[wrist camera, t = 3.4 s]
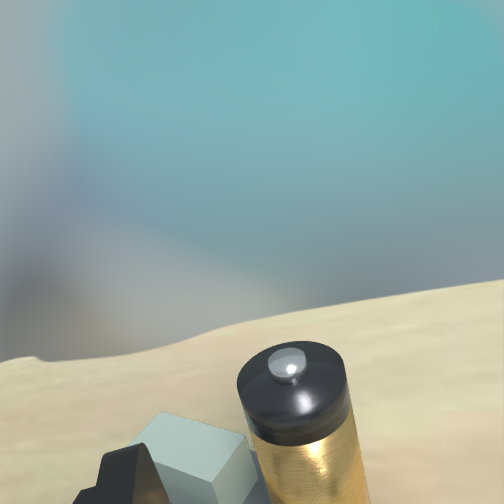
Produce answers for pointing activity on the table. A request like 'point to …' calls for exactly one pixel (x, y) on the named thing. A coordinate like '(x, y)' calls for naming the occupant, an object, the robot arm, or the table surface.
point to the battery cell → (303, 425)
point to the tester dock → (203, 462)
